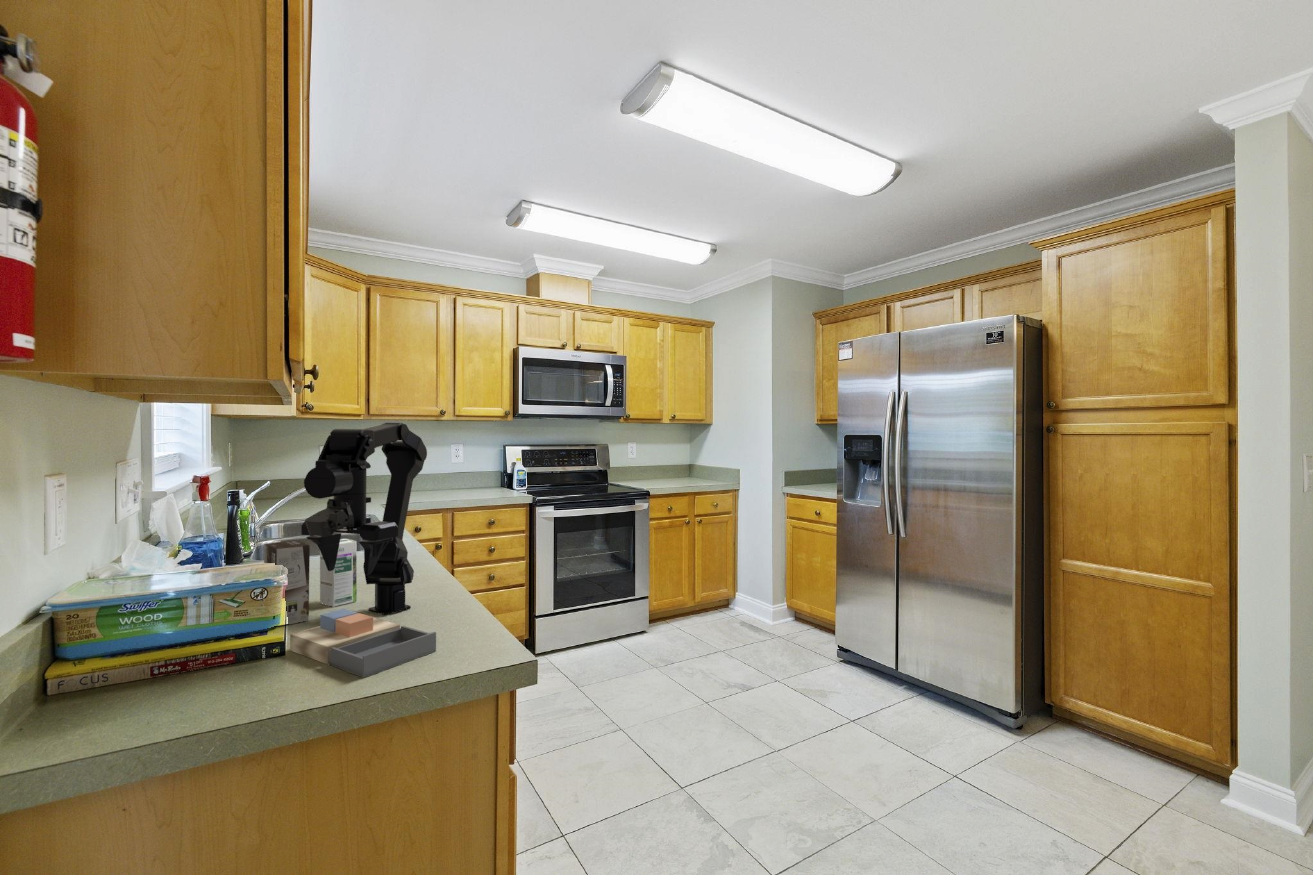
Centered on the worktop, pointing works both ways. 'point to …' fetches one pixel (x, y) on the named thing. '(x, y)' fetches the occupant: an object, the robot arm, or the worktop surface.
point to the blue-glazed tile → (333, 619)
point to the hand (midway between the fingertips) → (349, 572)
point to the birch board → (331, 639)
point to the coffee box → (293, 575)
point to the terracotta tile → (354, 625)
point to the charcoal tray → (383, 651)
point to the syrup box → (340, 576)
